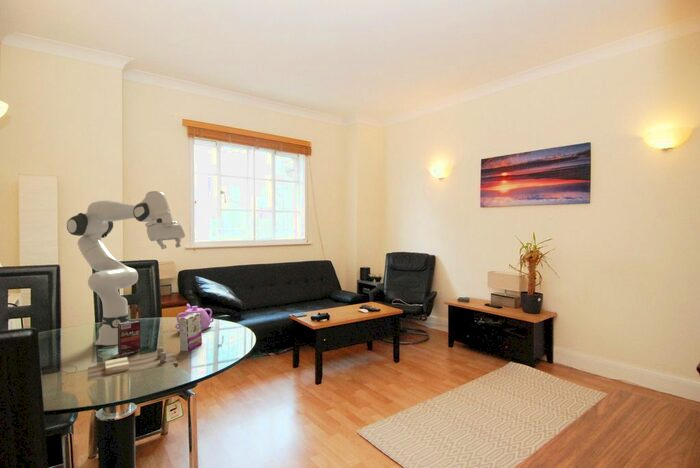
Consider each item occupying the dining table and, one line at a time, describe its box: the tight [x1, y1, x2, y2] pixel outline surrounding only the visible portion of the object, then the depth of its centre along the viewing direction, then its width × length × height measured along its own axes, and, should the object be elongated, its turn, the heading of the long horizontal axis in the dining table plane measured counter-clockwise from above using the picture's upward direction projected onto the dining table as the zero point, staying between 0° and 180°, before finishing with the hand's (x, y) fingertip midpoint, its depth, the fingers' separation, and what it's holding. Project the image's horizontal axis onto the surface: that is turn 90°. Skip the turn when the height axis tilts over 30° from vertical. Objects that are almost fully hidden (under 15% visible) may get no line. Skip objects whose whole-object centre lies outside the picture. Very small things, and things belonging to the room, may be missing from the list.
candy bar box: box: [178, 313, 203, 352], centre depth 182 cm, size 11×5×16 cm, turn 168°
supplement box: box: [117, 319, 141, 356], centre depth 173 cm, size 9×5×16 cm, turn 136°
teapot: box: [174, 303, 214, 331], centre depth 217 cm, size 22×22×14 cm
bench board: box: [87, 346, 179, 383], centre depth 156 cm, size 18×32×6 cm, turn 125°
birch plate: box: [104, 356, 129, 374], centre depth 153 cm, size 10×8×2 cm
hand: (171, 248), depth 181 cm, fingers open, 8 cm apart
